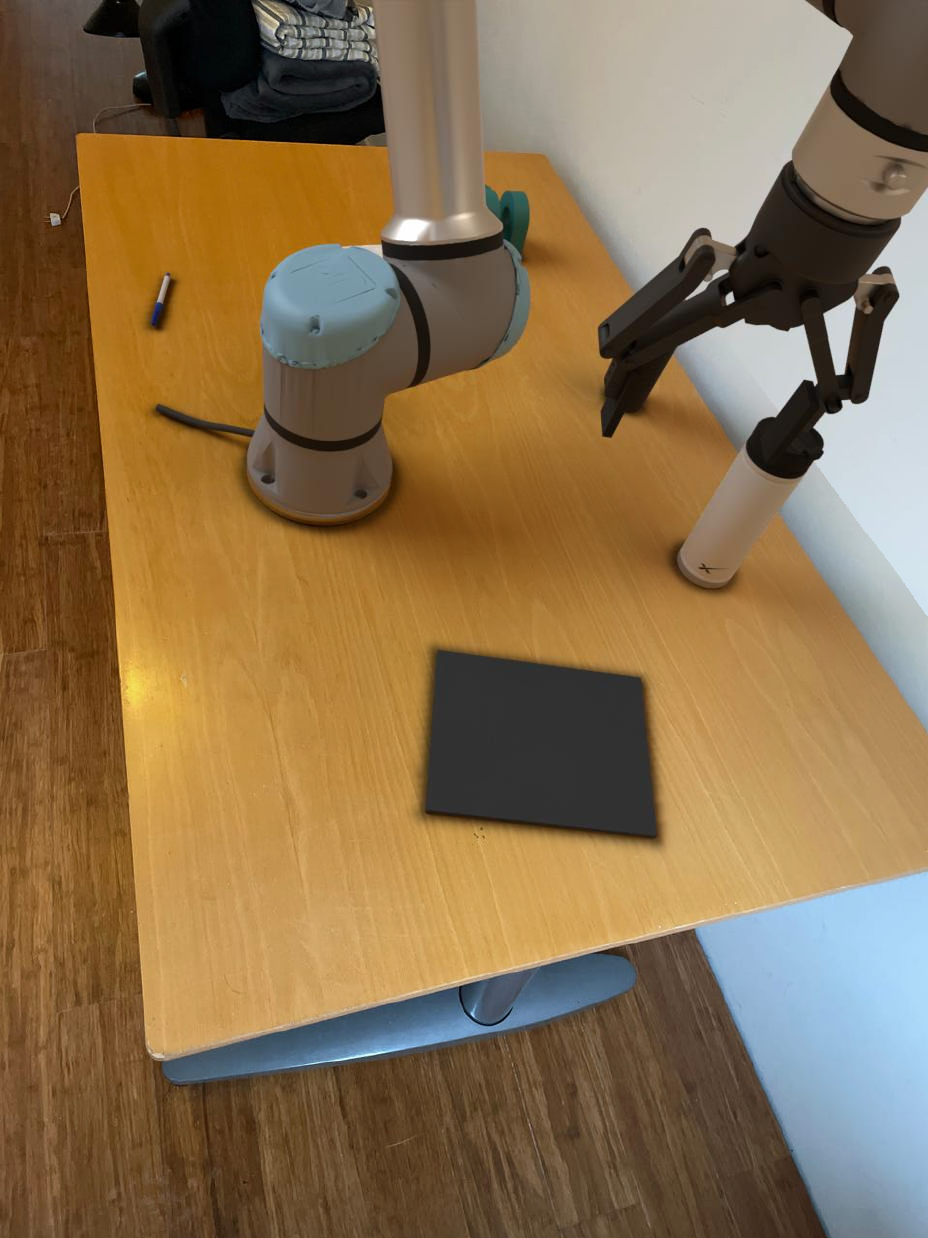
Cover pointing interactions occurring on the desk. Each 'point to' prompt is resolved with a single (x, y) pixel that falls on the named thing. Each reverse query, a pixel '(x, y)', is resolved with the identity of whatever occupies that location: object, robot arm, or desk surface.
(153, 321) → the ballpoint pen
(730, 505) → the travel mug
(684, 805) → the desk surface
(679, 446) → the desk surface
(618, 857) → the desk surface
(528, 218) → the bracket
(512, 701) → the slate mat
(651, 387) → the drinking cup
